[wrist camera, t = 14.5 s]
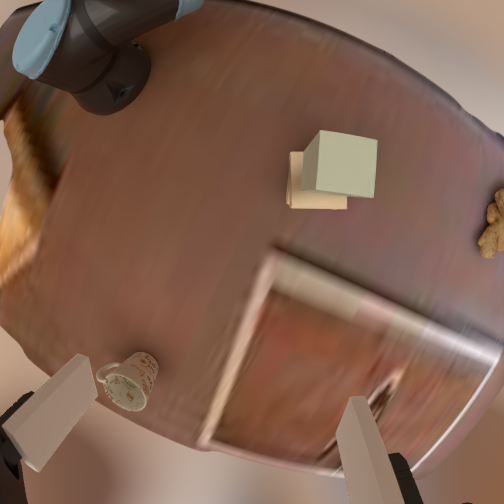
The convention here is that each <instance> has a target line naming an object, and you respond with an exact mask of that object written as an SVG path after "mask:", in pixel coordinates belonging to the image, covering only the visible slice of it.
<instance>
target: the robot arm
mask: <svg viewBox="0 0 504 504" xmlns="http://www.w3.org/2000/svg"><path fill="white" fill-rule="evenodd" d="M203 2H204V0H45V1H43V2H42V3H41V4H40V5H39V6H38V7H37V8H36V9H35V10H34V12H33V13H32V14H31V15H30V17H29V18H28V19H27V21H26V22H25V24H24V25H23V27H22V29H21V31H20V33H19V35H18V37H17V40H16V42H15V45H14V49H13V57H12V59H13V65H14V67H15V69H16V70H17V71H18V72H20V73H22V74H24V75H26V76H28V77H29V78H30V79H32V80H33V79H34V80H37V81H40V82H43V83H45V84H48V85H51V86H53V87H56V88H59V89H61V90H64V91H67V92H69V93H71V94H72V96H73V97H74V98H75V99H76V100H77V102H78V103H79V105H80V106H81V107H82V108H83V109H85V110H86V111H88V112H91V113H93V114H96V115H108V114H112V113H115V112H117V111H119V110H121V109H123V108H124V107H126V106H127V105H128V104H130V103H131V102H132V101H133V100H134V99H135V98H136V97H137V95H138V94H139V93H140V92H141V90H142V89H143V87H144V85H145V83H146V81H147V79H148V76H149V72H150V58H149V55H148V53H147V52H146V50H145V49H144V48H143V47H142V46H141V45H140V44H138V43H137V42H135V41H133V39H134V38H136V37H138V36H140V35H142V34H144V33H146V32H148V31H150V30H152V29H155V28H157V27H159V26H161V25H163V24H165V23H168V22H170V21H176V20H178V19H179V18H180V17H182V16H184V15H187V14H189V13H191V12H194V11H196V10H198V9H199V8H200V7H201V6H202V4H203ZM97 396H98V394H97V390H96V387H95V383H94V379H93V375H92V370H91V366H90V362H89V357H87V356H84V355H81V354H78V353H77V354H76V355H75V356H74V357H73V358H72V359H71V360H70V361H68V362H67V363H66V364H65V365H64V366H63V367H62V368H61V369H60V370H59V371H58V372H57V373H55V374H54V375H53V376H52V377H51V378H50V379H49V380H48V381H47V382H46V383H45V384H44V385H43V386H42V387H41V388H40V389H39V390H37V391H36V392H35V393H34V392H32V391H31V392H29V393H26V394H24V395H23V396H22V397H21V398H20V399H18V401H17V402H15V403H14V404H13V406H11V407H10V408H9V409H8V410H7V411H6V412H5V413H4V414H3V415H2V416H1V417H0V504H28V503H27V498H26V493H25V487H24V480H23V473H22V465H21V462H20V460H21V458H23V460H24V461H25V462H26V464H27V465H28V466H30V467H31V468H32V469H34V470H36V471H37V472H40V471H41V469H42V468H43V466H44V465H45V464H46V462H47V461H48V460H49V458H50V457H51V456H52V454H53V453H54V452H55V450H56V449H57V448H58V446H59V445H60V444H61V442H62V441H63V440H64V439H65V437H66V436H67V435H68V433H69V432H70V431H71V429H72V428H73V427H74V426H75V424H76V423H77V422H78V420H79V419H80V418H81V417H82V415H83V414H84V413H85V411H86V410H87V409H88V408H89V406H90V405H91V404H92V403H93V401H94V400H95V399H96V398H97ZM336 438H337V442H338V447H339V452H340V456H341V461H342V466H343V471H344V475H345V480H346V485H347V491H348V496H349V501H350V504H423V501H422V499H421V496H420V494H419V491H418V488H417V486H416V483H415V480H414V478H413V477H412V476H413V475H412V473H411V471H410V468H409V465H408V463H407V461H406V459H405V458H404V457H403V456H402V455H401V454H400V453H393V454H387V451H386V449H385V446H384V443H383V441H382V438H381V436H380V433H379V430H378V428H377V425H376V423H375V420H374V418H373V415H372V412H371V410H370V407H369V405H368V403H367V400H366V398H365V396H350V398H349V401H348V404H347V406H346V409H345V412H344V414H343V417H342V419H341V421H340V424H339V426H338V429H337V431H336ZM463 504H472V503H463Z"/></svg>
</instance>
